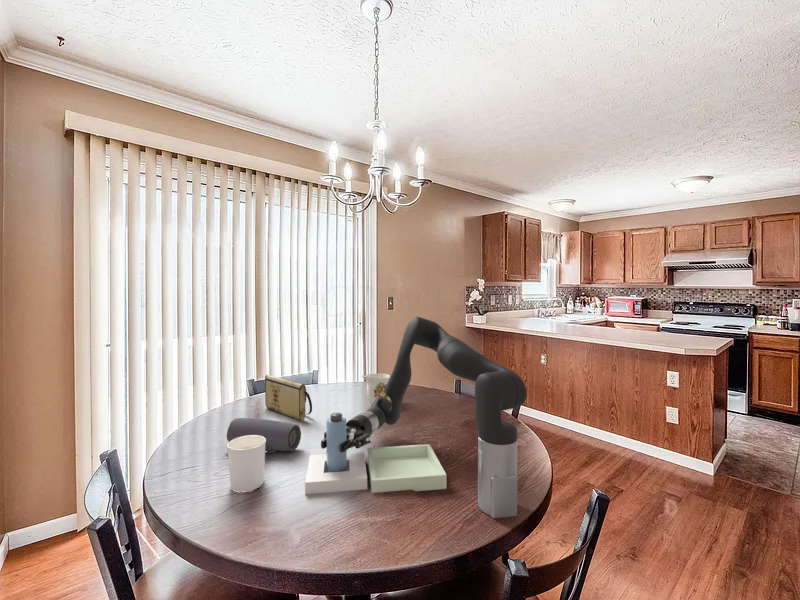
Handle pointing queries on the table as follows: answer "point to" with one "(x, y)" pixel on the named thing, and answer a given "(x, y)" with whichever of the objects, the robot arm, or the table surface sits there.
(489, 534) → the table surface
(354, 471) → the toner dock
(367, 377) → the pitcher
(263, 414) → the table surface
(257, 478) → the candle holder
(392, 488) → the tray
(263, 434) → the bluetooth speaker
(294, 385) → the clutch purse
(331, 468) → the bottle
